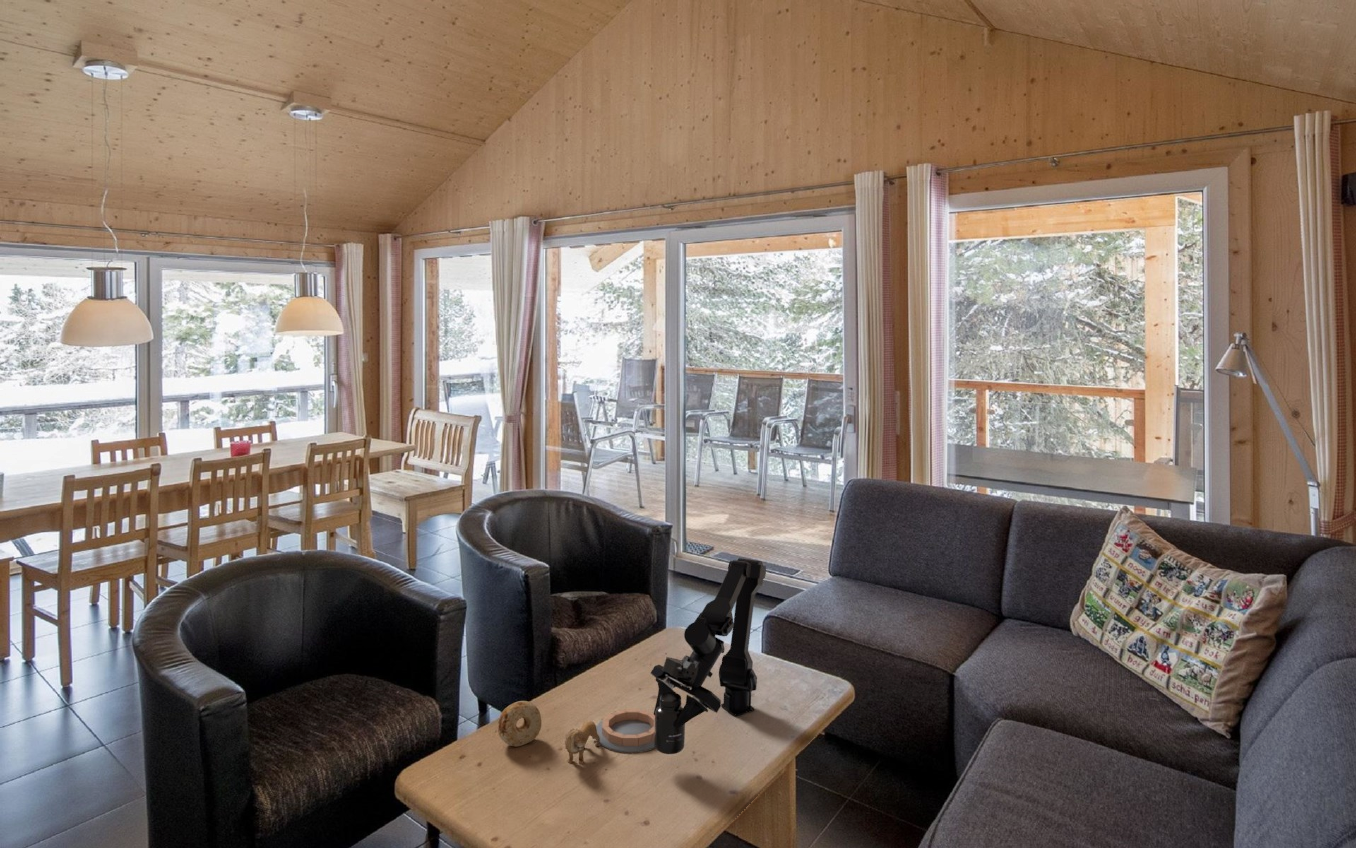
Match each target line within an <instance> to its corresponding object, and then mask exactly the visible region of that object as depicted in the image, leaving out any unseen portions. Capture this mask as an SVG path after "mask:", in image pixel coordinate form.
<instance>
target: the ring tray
mask: <svg viewBox="0 0 1356 848" xmlns="http://www.w3.org/2000/svg"><path fill="white" fill-rule="evenodd" d="M596 729H597V734H598V735H599V737H600V746H602V748H605V749H607V750H610V751H612V752H617V753H624V754H626V753H627V754H633V753H634V754H635V753H636V754H637V753H643V752H648V751H650V750H654V749H656V748H655V745H654V738H655V715H654V712H650V711H647V710H643V709H639V708H638V709H637V708H633V709H632V708H629V709H628V708H627V709H626V708H625V709H621V710H620V709H619V710H618V711H613V712H610V713H609V714H608V715H607V716H606V717H604V718H603V719H602V720H601V721H599V722H598V723H597V725H596ZM596 741H597V740H596V739H595V742H596Z"/></svg>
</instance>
